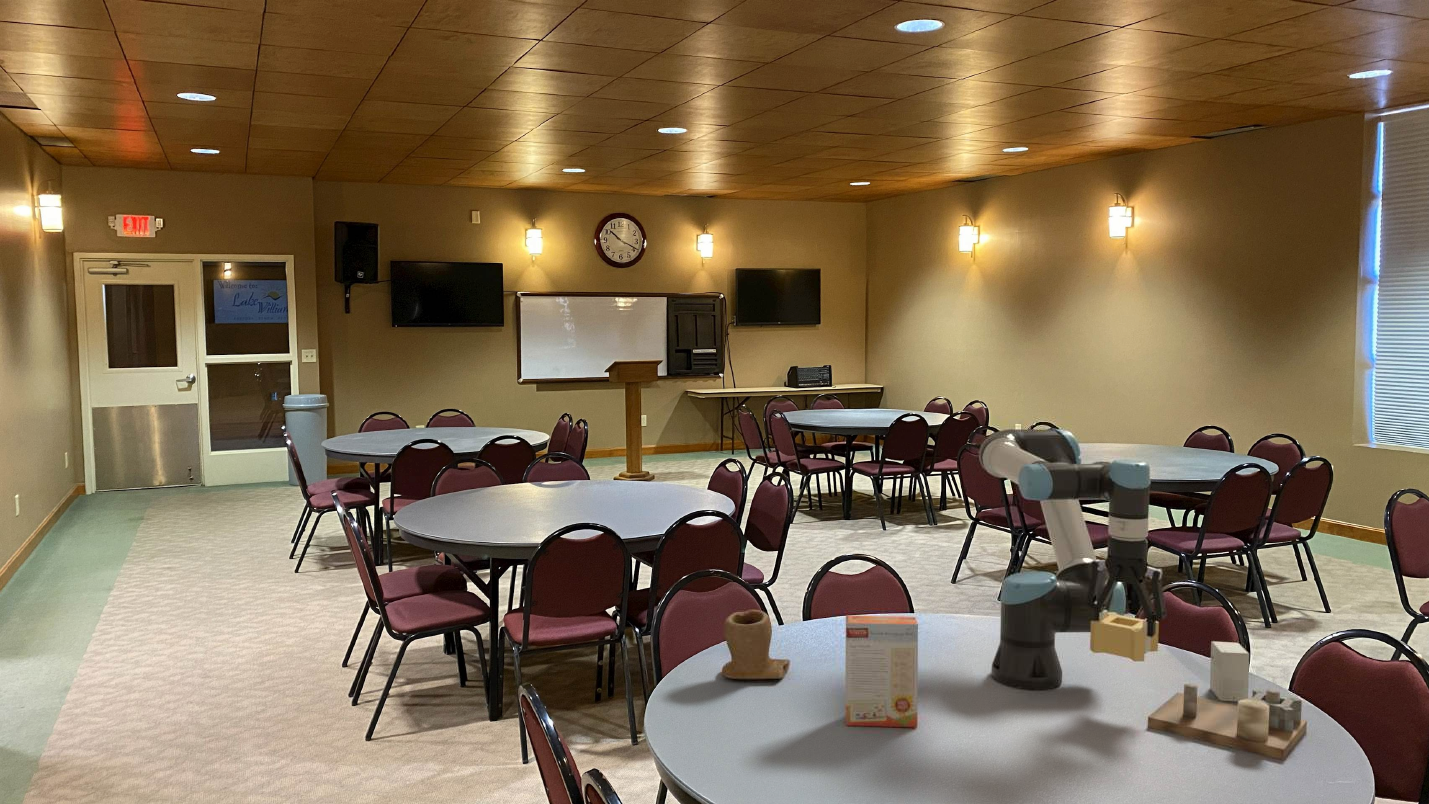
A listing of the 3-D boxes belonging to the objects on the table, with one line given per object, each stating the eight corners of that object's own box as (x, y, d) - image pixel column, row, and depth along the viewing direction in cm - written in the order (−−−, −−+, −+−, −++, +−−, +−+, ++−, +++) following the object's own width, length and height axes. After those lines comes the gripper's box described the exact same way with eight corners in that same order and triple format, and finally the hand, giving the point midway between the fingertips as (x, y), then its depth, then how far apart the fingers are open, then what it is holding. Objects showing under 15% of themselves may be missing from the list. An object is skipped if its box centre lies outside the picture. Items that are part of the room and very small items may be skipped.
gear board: (1147, 726, 206) (1148, 686, 205) (1177, 701, 219) (1178, 664, 219) (1283, 760, 190) (1285, 717, 189) (1306, 730, 203) (1308, 690, 203)
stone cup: (719, 686, 229) (719, 618, 228) (724, 668, 241) (723, 604, 240) (788, 688, 227) (789, 620, 226) (790, 670, 239) (790, 605, 238)
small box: (1248, 703, 218) (1250, 653, 218) (1219, 701, 220) (1221, 651, 219) (1237, 689, 226) (1238, 642, 225) (1209, 688, 227) (1210, 640, 227)
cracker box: (915, 717, 211) (916, 615, 209) (917, 729, 205) (919, 624, 203) (844, 714, 212) (845, 613, 210) (845, 726, 206) (846, 621, 204)
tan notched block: (1087, 651, 213) (1088, 622, 213) (1107, 638, 222) (1108, 610, 221) (1141, 663, 206) (1142, 633, 206) (1160, 649, 215) (1161, 620, 214)
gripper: (1069, 532, 216) (1066, 640, 218) (1175, 547, 202) (1171, 662, 204) (1084, 527, 222) (1080, 632, 224) (1187, 541, 208) (1183, 653, 210)
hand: (1123, 646), depth 214 cm, fingers closed on tan notched block, 8 cm apart
